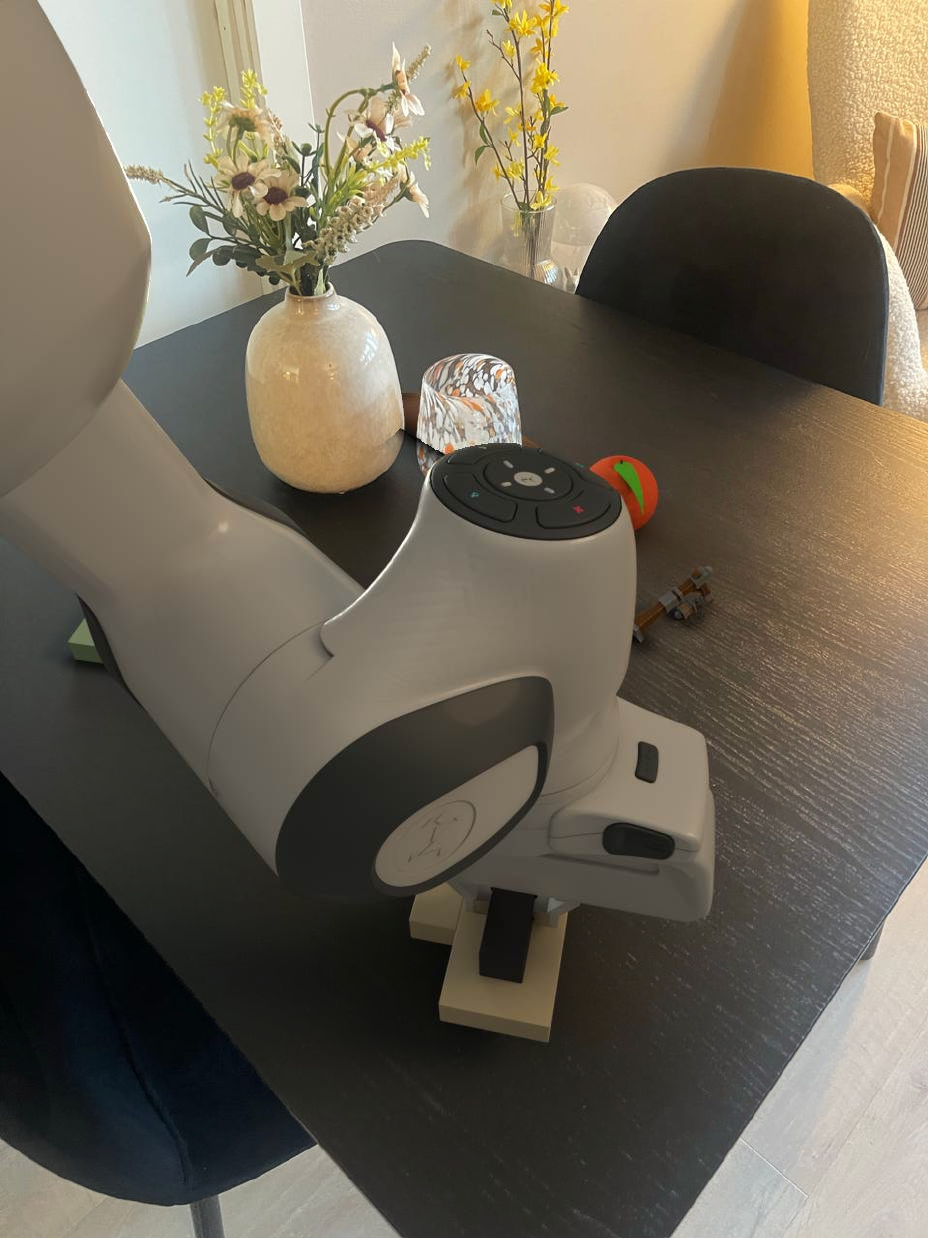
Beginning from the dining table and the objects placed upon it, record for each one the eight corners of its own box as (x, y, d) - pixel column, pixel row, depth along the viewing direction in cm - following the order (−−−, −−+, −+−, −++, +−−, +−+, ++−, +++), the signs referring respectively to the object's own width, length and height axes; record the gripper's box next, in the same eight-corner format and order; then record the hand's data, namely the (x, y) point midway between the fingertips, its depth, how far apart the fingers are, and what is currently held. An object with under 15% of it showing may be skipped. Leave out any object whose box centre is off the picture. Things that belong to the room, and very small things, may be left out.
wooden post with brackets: (727, 599, 78) (716, 568, 74) (649, 658, 78) (634, 629, 74) (713, 586, 79) (702, 555, 75) (636, 644, 79) (621, 615, 75)
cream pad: (548, 1043, 51) (551, 1006, 48) (390, 1010, 53) (384, 972, 50) (576, 853, 60) (581, 811, 57) (440, 830, 61) (437, 787, 58)
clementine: (673, 546, 84) (684, 480, 79) (602, 565, 82) (608, 499, 78) (631, 495, 90) (639, 431, 85) (564, 513, 88) (567, 448, 83)
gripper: (285, 775, 44) (322, 925, 54) (738, 851, 41) (691, 997, 50) (328, 677, 49) (355, 831, 58) (739, 738, 45) (696, 892, 55)
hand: (514, 909), depth 54 cm, fingers closed on cream pad, 2 cm apart
